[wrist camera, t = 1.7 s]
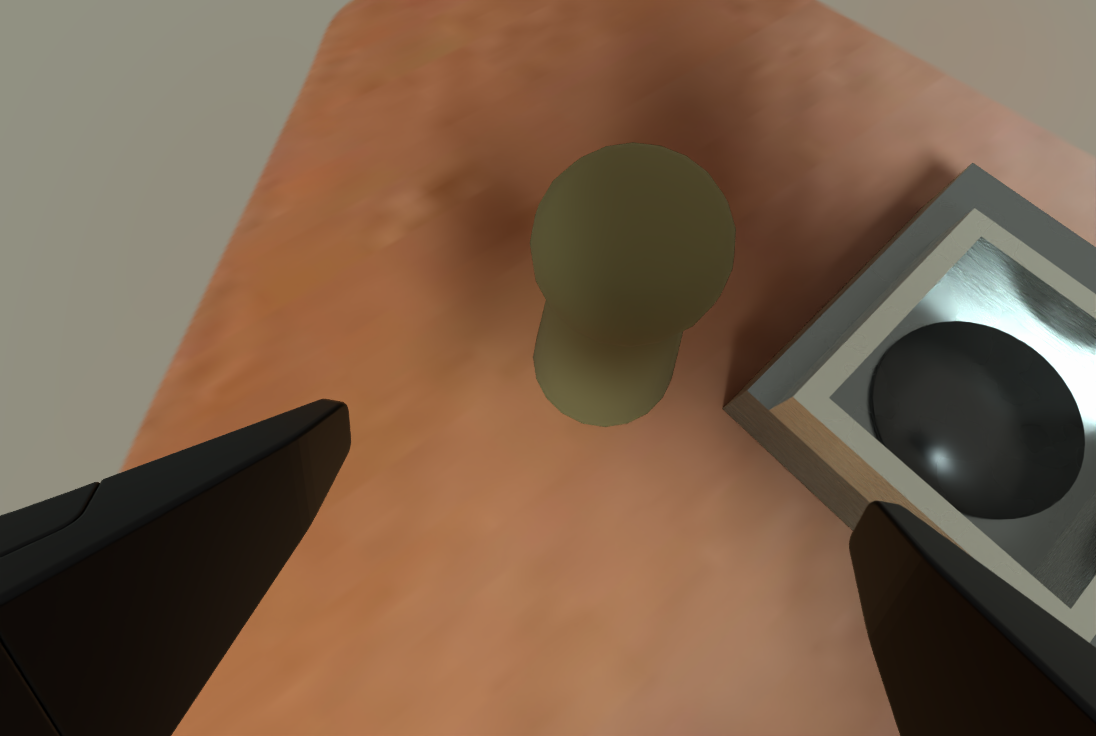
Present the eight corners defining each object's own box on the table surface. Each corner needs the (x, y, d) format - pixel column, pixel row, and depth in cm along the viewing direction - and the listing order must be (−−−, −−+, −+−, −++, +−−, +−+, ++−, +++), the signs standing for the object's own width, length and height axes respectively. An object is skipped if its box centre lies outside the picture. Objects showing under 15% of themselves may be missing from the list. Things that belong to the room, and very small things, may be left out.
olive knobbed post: (622, 455, 21) (682, 386, 11) (504, 372, 22) (454, 234, 12) (700, 342, 22) (823, 180, 12) (586, 269, 24) (605, 63, 13)
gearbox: (1269, 458, 20) (1486, 437, 16) (1075, 739, 18) (1264, 817, 13) (923, 206, 24) (1013, 126, 19) (722, 408, 22) (768, 375, 17)
